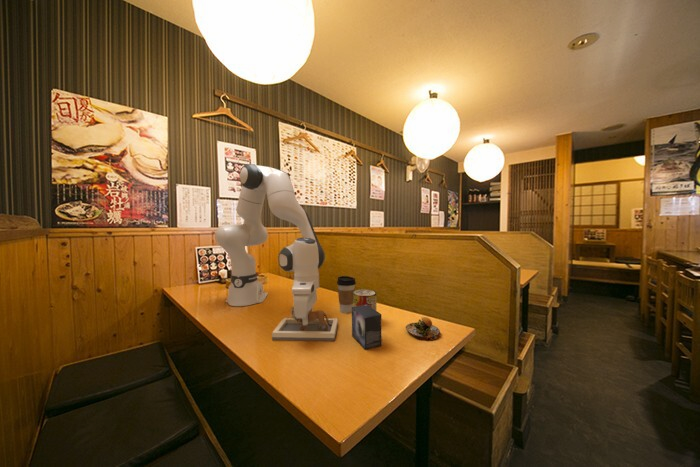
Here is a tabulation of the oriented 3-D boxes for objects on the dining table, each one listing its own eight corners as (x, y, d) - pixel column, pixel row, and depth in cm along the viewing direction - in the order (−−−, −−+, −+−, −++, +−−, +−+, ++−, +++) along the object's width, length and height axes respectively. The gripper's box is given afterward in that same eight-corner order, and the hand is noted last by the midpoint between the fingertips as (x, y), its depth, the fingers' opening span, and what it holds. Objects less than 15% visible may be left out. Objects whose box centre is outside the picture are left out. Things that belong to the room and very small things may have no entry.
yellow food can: (350, 325, 94) (350, 294, 93) (357, 317, 102) (357, 288, 102) (373, 328, 91) (373, 296, 90) (378, 319, 99) (378, 290, 99)
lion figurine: (290, 334, 84) (290, 307, 84) (291, 328, 89) (290, 303, 89) (333, 330, 87) (333, 304, 87) (331, 325, 92) (331, 301, 92)
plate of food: (409, 324, 95) (409, 305, 95) (441, 330, 90) (441, 310, 90) (401, 337, 84) (402, 316, 84) (438, 344, 79) (438, 322, 79)
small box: (350, 336, 85) (350, 306, 85) (367, 332, 88) (367, 303, 87) (364, 350, 75) (364, 316, 75) (382, 346, 78) (382, 313, 78)
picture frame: (284, 324, 95) (284, 317, 95) (337, 324, 94) (337, 318, 94) (272, 340, 82) (272, 332, 82) (334, 341, 81) (334, 333, 81)
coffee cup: (344, 306, 116) (344, 274, 115) (359, 310, 111) (359, 277, 110) (333, 311, 109) (333, 278, 108) (348, 315, 104) (348, 280, 103)
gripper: (304, 277, 98) (305, 311, 98) (289, 290, 78) (290, 333, 78) (320, 277, 98) (320, 311, 98) (309, 290, 77) (310, 333, 78)
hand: (307, 321), depth 88 cm, fingers open, 4 cm apart
